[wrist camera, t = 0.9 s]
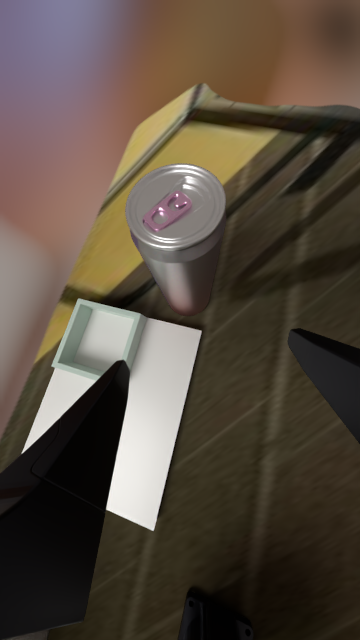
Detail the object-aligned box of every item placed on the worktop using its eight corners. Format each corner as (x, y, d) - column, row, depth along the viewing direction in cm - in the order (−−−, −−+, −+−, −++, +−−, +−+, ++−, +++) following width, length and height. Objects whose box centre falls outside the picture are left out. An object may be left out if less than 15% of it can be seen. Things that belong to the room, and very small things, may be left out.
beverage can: (160, 295, 24) (101, 203, 9) (190, 270, 24) (181, 143, 10) (185, 325, 23) (165, 273, 8) (218, 298, 23) (254, 201, 8)
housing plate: (156, 519, 18) (146, 560, 15) (26, 461, 21) (-10, 484, 17) (201, 332, 22) (202, 327, 19) (86, 303, 25) (68, 295, 21)
